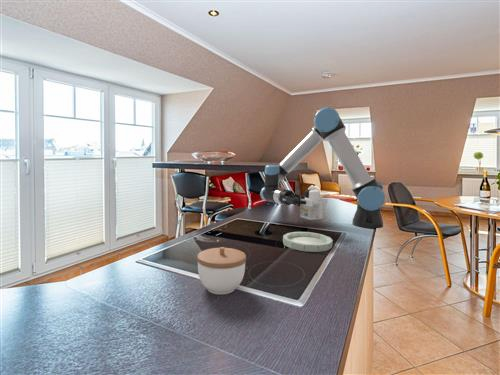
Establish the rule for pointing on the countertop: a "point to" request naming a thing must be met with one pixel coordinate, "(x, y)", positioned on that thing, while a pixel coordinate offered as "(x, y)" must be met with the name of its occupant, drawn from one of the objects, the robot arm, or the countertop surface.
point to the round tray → (307, 241)
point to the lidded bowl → (221, 269)
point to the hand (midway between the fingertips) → (319, 202)
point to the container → (317, 208)
